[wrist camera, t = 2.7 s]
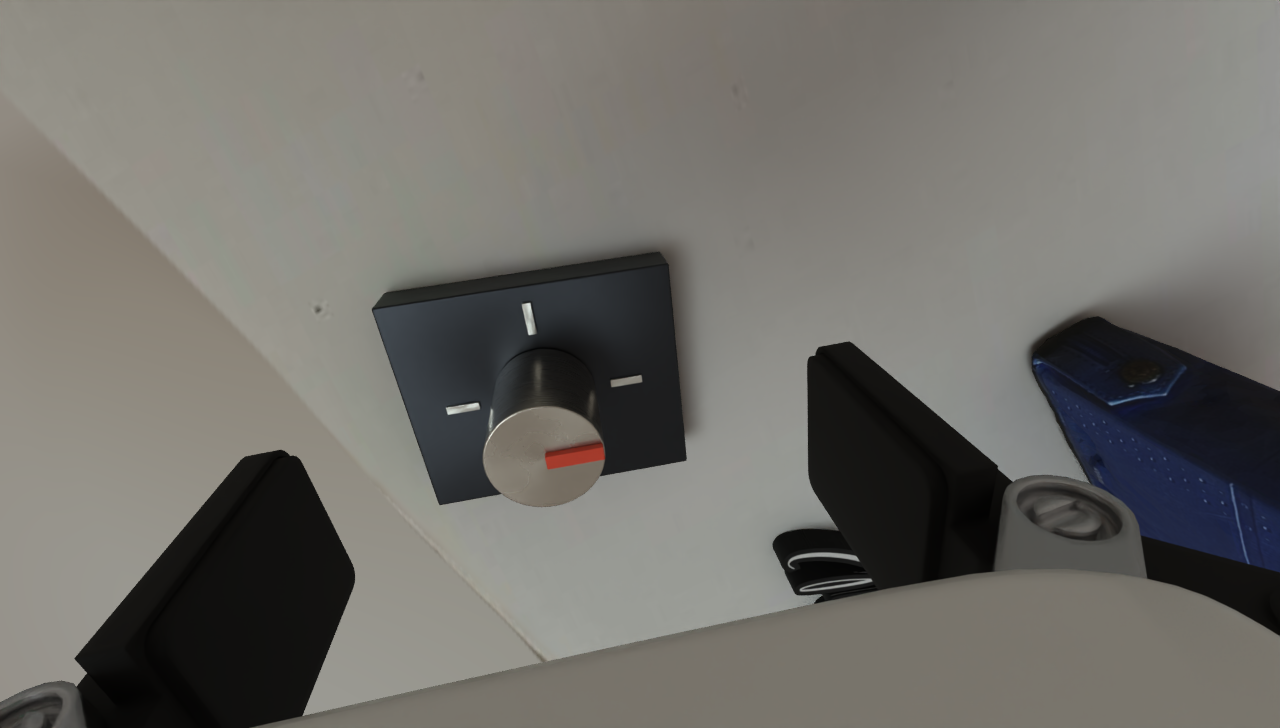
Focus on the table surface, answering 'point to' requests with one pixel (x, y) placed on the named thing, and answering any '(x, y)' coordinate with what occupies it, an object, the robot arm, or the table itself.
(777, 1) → the table surface
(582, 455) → the dial
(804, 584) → the nameplate
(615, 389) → the panel
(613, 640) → the table surface
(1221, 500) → the book
